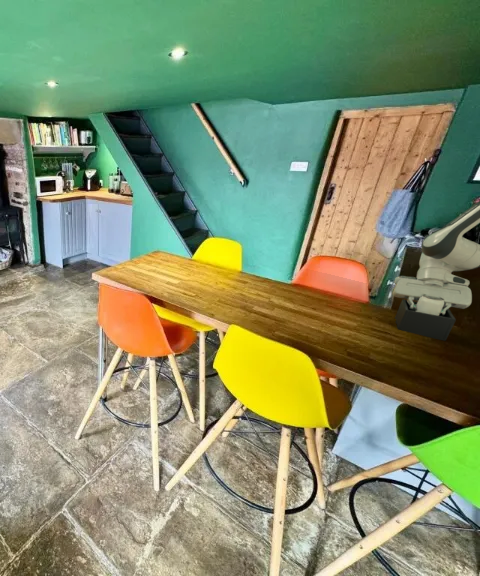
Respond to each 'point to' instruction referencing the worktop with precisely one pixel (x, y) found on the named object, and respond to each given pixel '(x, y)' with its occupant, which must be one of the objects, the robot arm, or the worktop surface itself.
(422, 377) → the worktop surface
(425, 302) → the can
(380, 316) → the worktop surface
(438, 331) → the bin
